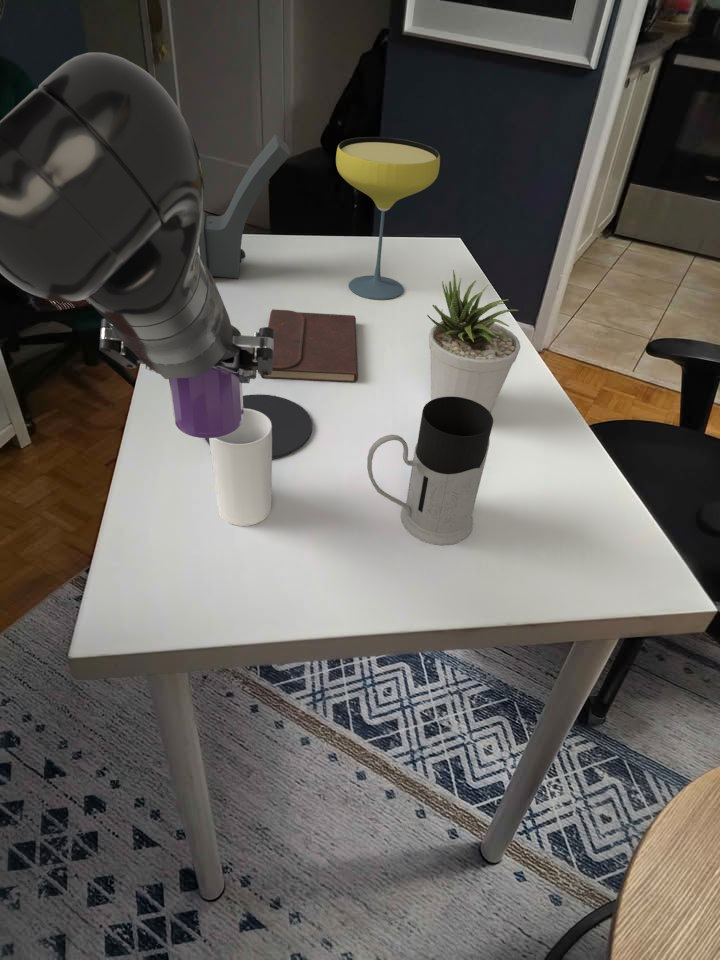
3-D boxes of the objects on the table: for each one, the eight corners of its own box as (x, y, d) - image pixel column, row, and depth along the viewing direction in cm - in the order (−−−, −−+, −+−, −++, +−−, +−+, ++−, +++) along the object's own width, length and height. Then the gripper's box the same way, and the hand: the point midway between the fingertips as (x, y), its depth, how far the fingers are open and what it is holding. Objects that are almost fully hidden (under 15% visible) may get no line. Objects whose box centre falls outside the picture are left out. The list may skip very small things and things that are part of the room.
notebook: (355, 323, 115) (356, 313, 114) (357, 382, 100) (358, 371, 99) (270, 319, 114) (270, 308, 113) (260, 378, 99) (259, 366, 98)
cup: (180, 443, 60) (169, 357, 54) (170, 405, 64) (158, 322, 58) (250, 432, 62) (246, 348, 56) (235, 396, 66) (230, 315, 61)
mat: (215, 469, 82) (214, 466, 81) (193, 405, 92) (192, 402, 92) (327, 449, 87) (327, 446, 86) (294, 390, 97) (294, 388, 97)
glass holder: (486, 536, 76) (515, 433, 66) (374, 562, 72) (387, 455, 62) (452, 489, 82) (474, 388, 72) (347, 510, 78) (356, 406, 68)
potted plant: (475, 378, 104) (502, 255, 91) (517, 427, 94) (554, 297, 81) (403, 386, 100) (420, 260, 87) (438, 438, 90) (463, 304, 77)
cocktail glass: (341, 264, 135) (349, 132, 119) (427, 277, 133) (446, 144, 117) (320, 299, 121) (325, 155, 105) (414, 314, 119) (434, 170, 103)
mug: (284, 515, 76) (283, 433, 68) (232, 536, 73) (225, 452, 65) (244, 468, 82) (240, 388, 75) (195, 485, 79) (185, 403, 71)
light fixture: (290, 283, 126) (291, 147, 111) (199, 282, 123) (187, 143, 108) (287, 261, 134) (287, 131, 119) (201, 260, 132) (189, 127, 116)
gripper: (274, 265, 46) (286, 336, 62) (66, 251, 45) (134, 328, 61) (269, 369, 45) (282, 413, 62) (57, 357, 44) (128, 406, 61)
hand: (208, 370), depth 61 cm, fingers closed on cup, 6 cm apart
